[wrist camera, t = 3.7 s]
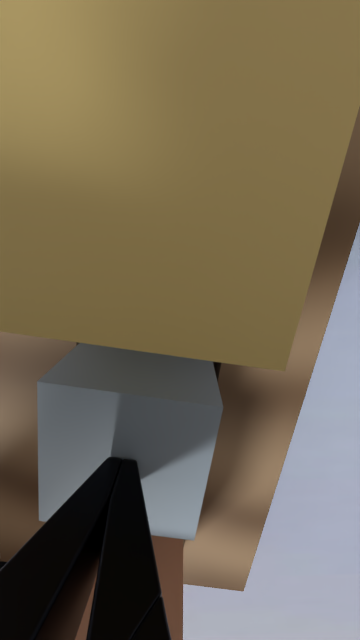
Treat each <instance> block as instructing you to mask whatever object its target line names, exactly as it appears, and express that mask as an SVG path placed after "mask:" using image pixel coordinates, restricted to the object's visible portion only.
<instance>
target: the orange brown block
mask: <svg viewBox="0 0 360 640" xmlns="http://www.w3.org/2000/svg"><path fill="white" fill-rule="evenodd" d="M151 537H152V542H153V548H154V553H155V558H156V564H157V569H158V574H159V580H160V585H161V590H162V597H163V600H164V605H165V610H166V615H167V621H168V625H169V630H170V634H171V639H172V640H183V539H178V538H170V537H162V536H154V535H151ZM96 577H97V575H96ZM95 583H96V578H95V581H94V584H93V587H92V590H91V593H90V596H89V599H88V602H87V605H86V608H85V611H84V614H83V617H82V620H81V623H80V626H79V629H78V632H77V635H76V638H75V640H86V637H87V631H88V625H89V619H90V613H91V607H92V601H93V595H94V589H95Z"/></svg>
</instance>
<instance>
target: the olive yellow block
mask: <svg viewBox="0 0 360 640" xmlns="http://www.w3.org/2000/svg"><path fill="white" fill-rule="evenodd" d="M359 107H360V0H0V332H7V333H14V334H21V335H28V336H36V337H43V338H50V339H57V340H64V341H71V342H78V343H85V344H92V345H100V346H107V347H114V348H121V349H128V350H135V351H142V352H149V353H157V354H164V355H171V356H178V357H185V358H192V359H199V360H206V361H213V362H221V363H228V364H235V365H242V366H249V367H256V368H263V369H270V370H277V371H285V369H286V366H287V362H288V359H289V355H290V351H291V348H292V344H293V341H294V337H295V334H296V330H297V327H298V323H299V320H300V316H301V312H302V309H303V305H304V302H305V298H306V295H307V291H308V288H309V284H310V281H311V277H312V273H313V270H314V266H315V263H316V259H317V256H318V252H319V249H320V245H321V241H322V238H323V234H324V231H325V227H326V224H327V220H328V217H329V213H330V210H331V206H332V202H333V199H334V195H335V192H336V188H337V185H338V181H339V178H340V174H341V171H342V167H343V163H344V160H345V156H346V153H347V149H348V146H349V142H350V139H351V135H352V132H353V128H354V124H355V121H356V117H357V114H358V110H359Z"/></svg>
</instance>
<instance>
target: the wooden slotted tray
mask: <svg viewBox="0 0 360 640" xmlns="http://www.w3.org/2000/svg"><path fill="white" fill-rule="evenodd" d="M359 223H360V107H359V110H358V114H357V117H356V121H355V124H354V128H353V132H352V135H351V139H350V142H349V146H348V149H347V153H346V156H345V160H344V163H343V167H342V171H341V174H340V178H339V181H338V185H337V188H336V192H335V195H334V199H333V202H332V206H331V210H330V213H329V217H328V220H327V224H326V227H325V231H324V234H323V238H322V241H321V245H320V249H319V252H318V256H317V259H316V263H315V266H314V270H313V273H312V277H311V281H310V284H309V288H308V291H307V295H306V298H305V302H304V305H303V309H302V312H301V316H300V320H299V323H298V327H297V330H296V334H295V337H294V341H293V344H292V348H291V351H290V355H289V359H288V362H287V366H286V369H285V371H277V370H270V369H263V368H256V367H249V366H242V365H235V364H228V363H221V362H213V365H214V369H215V374H216V378H217V382H218V387H219V391H220V395H221V399H222V404H223V411H222V416H221V420H220V425H219V429H218V434H217V439H216V443H215V448H214V452H213V457H212V461H211V466H210V471H209V475H208V480H207V484H206V489H205V494H204V498H203V503H202V507H201V512H200V516H199V521H198V526H197V530H196V535H195V539H194V541H193V540H185V539H183V584H188V585H196V586H204V587H212V588H221V589H229V590H237V591H244V588H245V585H246V581H247V578H248V575H249V572H250V569H251V566H252V562H253V559H254V556H255V553H256V550H257V546H258V543H259V540H260V537H261V534H262V531H263V527H264V524H265V521H266V518H267V515H268V512H269V508H270V505H271V502H272V499H273V496H274V493H275V489H276V486H277V483H278V480H279V477H280V473H281V470H282V467H283V464H284V461H285V458H286V454H287V451H288V448H289V445H290V442H291V439H292V435H293V432H294V429H295V426H296V423H297V419H298V416H299V413H300V410H301V407H302V404H303V400H304V397H305V394H306V391H307V388H308V385H309V381H310V378H311V375H312V372H313V369H314V366H315V362H316V359H317V356H318V353H319V350H320V346H321V343H322V340H323V337H324V334H325V331H326V327H327V324H328V321H329V318H330V315H331V312H332V308H333V305H334V302H335V299H336V296H337V293H338V289H339V286H340V283H341V280H342V277H343V273H344V270H345V267H346V264H347V261H348V258H349V254H350V251H351V248H352V245H353V242H354V239H355V235H356V232H357V229H358V226H359ZM78 344H79V343H78V342H71V341H64V340H57V339H50V338H43V337H36V336H28V335H21V334H14V333H7V332H0V561H4V562H8V561H9V560H10V559H11V558H12V557H13V556H14V555H15V554H16V553H17V552H18V551H19V550H20V549H21V547H22V546H23V545H24V544H25V543H26V542H27V541H28V540H29V539H30V538H31V537H32V536H33V535H34V534H35V533H36V532H37V531H38V530H39V529H40V528H41V527H42V526H43V525H44V523H45V522H44V521H39V491H38V410H37V381H38V380H39V379H41V378H42V377H43V376H44V375H45V374H46V373H47V372H48V371H49V370H51V369H52V368H53V367H54V366H55V365H56V364H57V363H58V362H59V361H60V360H62V359H63V358H64V357H65V356H66V355H67V354H68V353H69V352H70V351H71V350H73V349H74V348H75V347H76V346H77V345H78Z"/></svg>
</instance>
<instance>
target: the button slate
mask: <svg viewBox="0 0 360 640" xmlns="http://www.w3.org/2000/svg"><path fill="white" fill-rule="evenodd" d="M37 410H38V491H39V521H44V522H46V521H47V520H48V519H49V518H50V517H51V516H52V515H53V514H54V513H55V512H56V511H57V510H58V509H59V508H60V507H61V506H62V505H63V504H64V503H65V502H66V501H67V499H68V498H69V497H70V496H71V495H72V494H73V493H74V492H75V491H76V490H77V489H78V488H79V487H80V486H81V485H82V484H83V483H84V482H85V481H86V480H87V479H88V478H89V477H90V475H91V474H92V473H93V472H94V471H95V470H96V469H97V468H98V467H99V466H100V465H101V464H102V463H103V462H104V461H105V460H106V459H107V458H108V457H118V458H121V459H122V461H123V459H133V460H136V461H137V463H138V468H139V474H140V479H141V484H142V490H143V495H144V500H145V505H146V511H147V516H148V521H149V527H150V532H151V535H154V536H162V537H170V538H178V539H185V540H193V541H194V539H195V535H196V530H197V526H198V521H199V516H200V512H201V507H202V503H203V498H204V494H205V489H206V484H207V480H208V475H209V471H210V466H211V461H212V457H213V452H214V448H215V443H216V439H217V434H218V429H219V425H220V420H221V416H222V411H223V404H222V399H221V395H220V391H219V387H218V382H217V378H216V374H215V369H214V365H213V361H206V360H199V359H192V358H185V357H178V356H171V355H164V354H157V353H149V352H142V351H135V350H128V349H121V348H114V347H107V346H100V345H92V344H85V343H79V344H78V345H77V346H76V347H75V348H74V349H73V350H71V351H70V352H69V353H68V354H67V355H66V356H65V357H64V358H63V359H62V360H60V361H59V362H58V363H57V364H56V365H55V366H54V367H53V368H52V369H51V370H49V371H48V372H47V373H46V374H45V375H44V376H43V377H42V378H41V379H39V380H38V381H37Z"/></svg>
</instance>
